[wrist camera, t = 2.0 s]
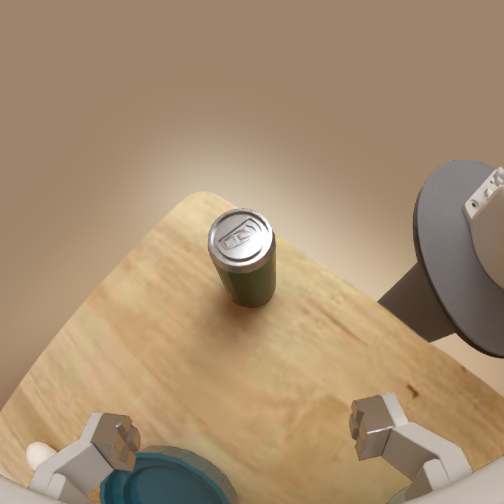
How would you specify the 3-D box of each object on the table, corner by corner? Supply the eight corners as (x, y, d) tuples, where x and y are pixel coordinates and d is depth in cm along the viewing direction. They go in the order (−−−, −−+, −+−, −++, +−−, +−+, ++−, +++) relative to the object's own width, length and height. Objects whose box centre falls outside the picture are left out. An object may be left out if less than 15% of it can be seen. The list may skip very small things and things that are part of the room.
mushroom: (61, 438, 27) (36, 440, 22) (74, 472, 25) (51, 478, 20) (38, 442, 26) (13, 444, 22) (50, 475, 24) (26, 480, 20)
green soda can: (242, 318, 33) (225, 282, 22) (219, 278, 35) (193, 226, 24) (285, 293, 33) (289, 245, 23) (259, 255, 36) (252, 195, 25)
